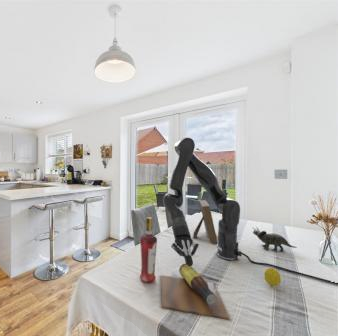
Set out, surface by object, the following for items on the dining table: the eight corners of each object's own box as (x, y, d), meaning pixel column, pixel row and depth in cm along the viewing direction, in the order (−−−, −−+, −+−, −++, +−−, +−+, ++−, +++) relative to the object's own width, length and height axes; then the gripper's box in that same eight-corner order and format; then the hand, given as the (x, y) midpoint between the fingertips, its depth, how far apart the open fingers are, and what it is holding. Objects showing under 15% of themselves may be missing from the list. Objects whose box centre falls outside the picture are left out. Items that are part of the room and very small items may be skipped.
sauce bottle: (176, 273, 90) (199, 304, 70) (181, 260, 90) (206, 288, 70) (189, 278, 90) (215, 310, 70) (194, 265, 90) (221, 294, 71)
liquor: (144, 273, 93) (146, 214, 92) (158, 279, 88) (160, 217, 87) (136, 280, 87) (137, 218, 86) (150, 286, 83) (152, 221, 82)
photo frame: (212, 233, 149) (213, 200, 148) (217, 244, 128) (219, 206, 128) (191, 230, 154) (192, 199, 153) (193, 240, 133) (194, 204, 132)
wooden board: (212, 284, 85) (212, 282, 85) (229, 319, 66) (229, 317, 66) (161, 276, 90) (161, 275, 90) (162, 307, 71) (162, 306, 71)
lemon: (275, 291, 81) (276, 272, 81) (261, 283, 86) (261, 266, 86) (283, 288, 83) (283, 269, 83) (268, 281, 89) (269, 263, 88)
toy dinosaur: (296, 253, 118) (297, 234, 117) (296, 257, 111) (297, 238, 111) (252, 242, 133) (253, 226, 132) (250, 246, 126) (251, 228, 126)
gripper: (169, 224, 94) (177, 262, 83) (195, 225, 95) (208, 262, 83) (165, 231, 100) (173, 268, 88) (190, 231, 100) (201, 268, 89)
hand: (190, 265), depth 86 cm, fingers closed
